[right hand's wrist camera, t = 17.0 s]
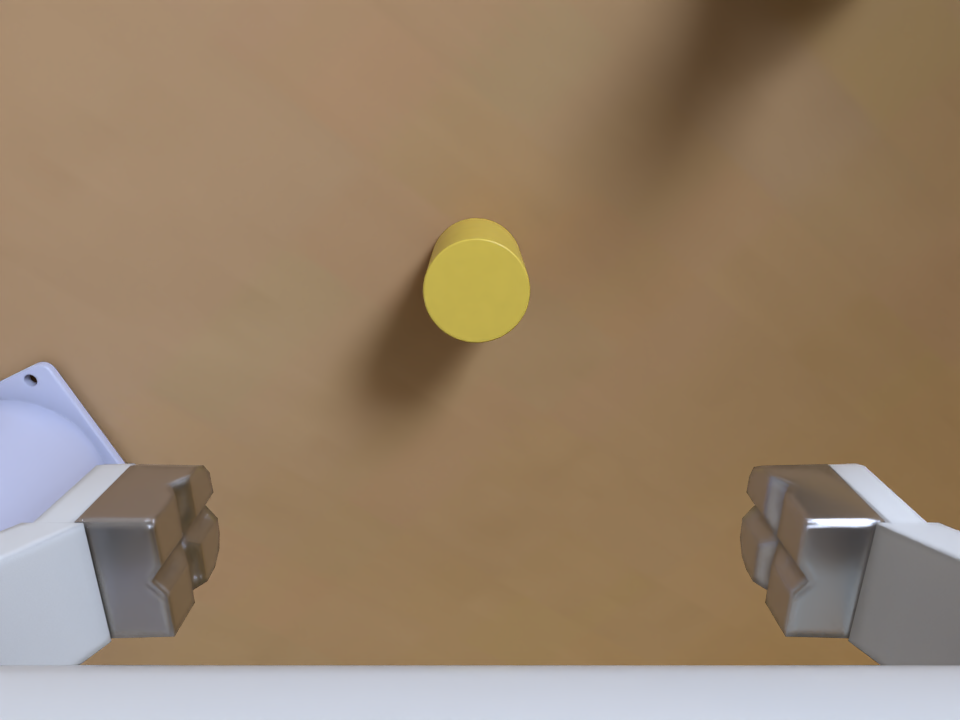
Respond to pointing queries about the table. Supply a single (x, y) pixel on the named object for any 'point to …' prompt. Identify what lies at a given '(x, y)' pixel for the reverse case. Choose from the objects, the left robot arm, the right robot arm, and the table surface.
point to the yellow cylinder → (476, 281)
